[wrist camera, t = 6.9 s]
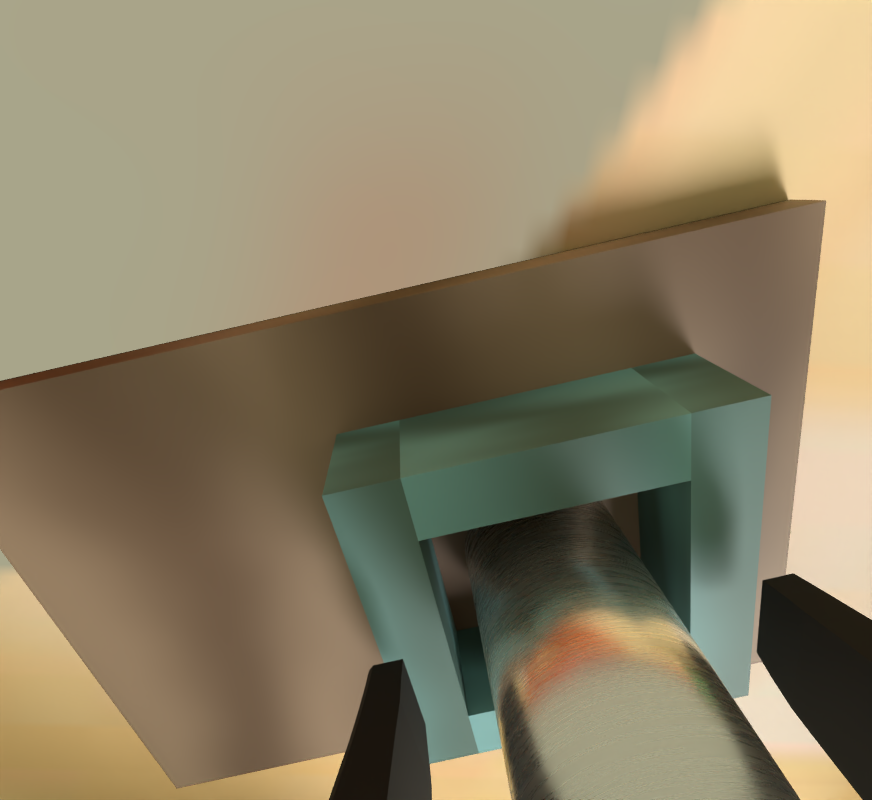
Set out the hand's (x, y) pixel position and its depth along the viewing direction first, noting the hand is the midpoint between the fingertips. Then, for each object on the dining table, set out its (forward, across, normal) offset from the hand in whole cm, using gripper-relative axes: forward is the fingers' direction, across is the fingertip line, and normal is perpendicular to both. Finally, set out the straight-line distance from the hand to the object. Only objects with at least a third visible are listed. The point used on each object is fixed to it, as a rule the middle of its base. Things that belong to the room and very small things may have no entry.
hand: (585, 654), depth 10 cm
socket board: (+5, +3, 0) cm, 5 cm away
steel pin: (+4, 0, 0) cm, 4 cm away
